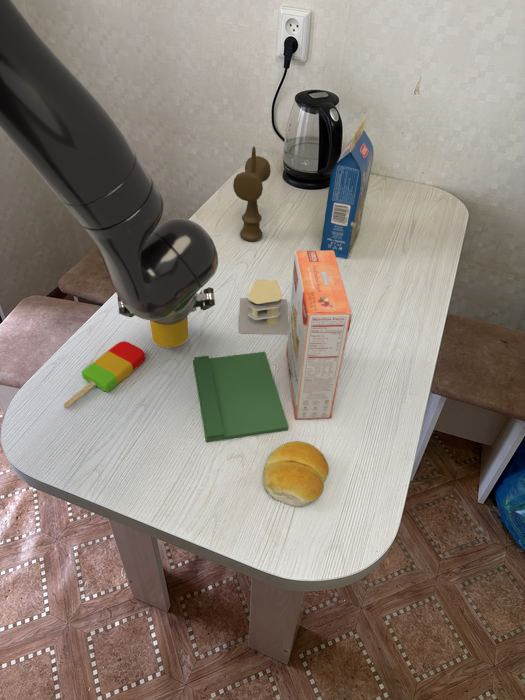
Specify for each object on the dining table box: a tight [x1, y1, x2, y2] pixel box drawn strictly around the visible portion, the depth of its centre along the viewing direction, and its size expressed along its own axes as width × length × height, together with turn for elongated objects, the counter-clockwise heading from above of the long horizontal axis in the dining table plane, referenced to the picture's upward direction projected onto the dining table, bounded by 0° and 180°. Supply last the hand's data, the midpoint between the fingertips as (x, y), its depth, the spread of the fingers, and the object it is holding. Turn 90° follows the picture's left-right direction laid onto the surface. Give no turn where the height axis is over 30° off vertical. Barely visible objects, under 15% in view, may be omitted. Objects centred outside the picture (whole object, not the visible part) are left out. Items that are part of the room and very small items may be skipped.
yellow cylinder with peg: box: [149, 316, 189, 349], centre depth 80 cm, size 6×6×10 cm
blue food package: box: [319, 115, 375, 259], centre depth 103 cm, size 6×12×25 cm, turn 160°
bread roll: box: [262, 440, 330, 508], centre depth 67 cm, size 8×9×4 cm
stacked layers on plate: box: [238, 279, 289, 335], centre depth 90 cm, size 10×9×6 cm
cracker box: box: [285, 250, 353, 420], centre depth 73 cm, size 14×6×21 cm, turn 3°
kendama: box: [232, 146, 272, 242], centre depth 105 cm, size 6×10×20 cm, turn 167°
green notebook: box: [192, 351, 289, 443], centre depth 78 cm, size 12×16×1 cm
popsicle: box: [63, 340, 146, 409], centre depth 78 cm, size 6×15×2 cm, turn 147°
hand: (167, 308), depth 82 cm, fingers closed on yellow cylinder with peg, 6 cm apart
